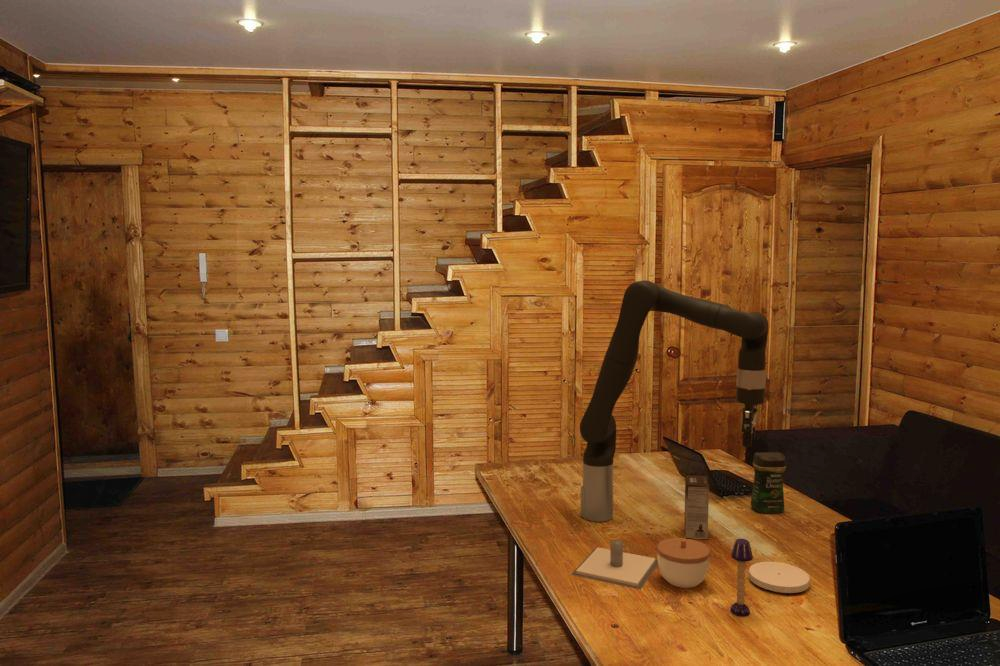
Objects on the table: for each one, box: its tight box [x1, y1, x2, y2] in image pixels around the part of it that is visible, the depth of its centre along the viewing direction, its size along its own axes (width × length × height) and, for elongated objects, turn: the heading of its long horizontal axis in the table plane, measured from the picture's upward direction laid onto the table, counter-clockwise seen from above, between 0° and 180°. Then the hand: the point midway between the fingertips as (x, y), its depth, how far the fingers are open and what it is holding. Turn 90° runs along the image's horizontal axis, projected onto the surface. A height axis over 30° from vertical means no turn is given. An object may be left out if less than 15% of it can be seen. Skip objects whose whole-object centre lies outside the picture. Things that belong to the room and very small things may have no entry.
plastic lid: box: [748, 561, 811, 594], centre depth 176 cm, size 14×14×2 cm
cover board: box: [575, 539, 657, 587], centre depth 184 cm, size 16×16×7 cm
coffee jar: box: [750, 451, 787, 514], centre depth 224 cm, size 10×8×19 cm
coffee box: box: [684, 474, 710, 540], centre depth 206 cm, size 9×6×16 cm
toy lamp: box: [730, 538, 754, 617], centre depth 162 cm, size 5×5×17 cm
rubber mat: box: [570, 547, 659, 590], centre depth 184 cm, size 18×18×1 cm
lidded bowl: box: [656, 537, 711, 589], centre depth 176 cm, size 13×13×11 cm
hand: (748, 443), depth 197 cm, fingers open, 8 cm apart
